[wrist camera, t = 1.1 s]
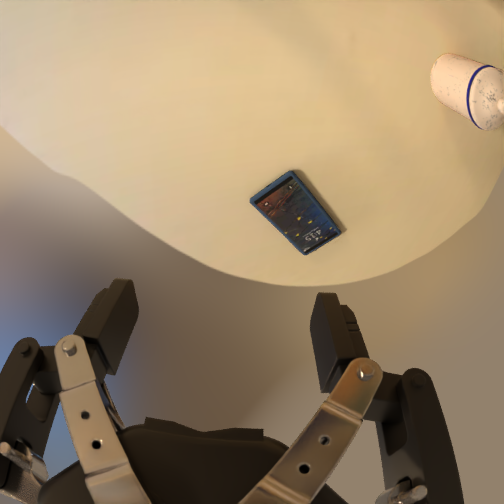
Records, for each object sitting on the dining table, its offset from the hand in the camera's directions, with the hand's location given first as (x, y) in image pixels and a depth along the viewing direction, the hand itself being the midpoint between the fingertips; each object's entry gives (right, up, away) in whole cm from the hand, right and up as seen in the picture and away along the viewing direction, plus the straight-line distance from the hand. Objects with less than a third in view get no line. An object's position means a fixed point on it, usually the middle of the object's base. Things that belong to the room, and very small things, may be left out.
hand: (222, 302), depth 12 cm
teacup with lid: (+31, +28, +15) cm, 44 cm away
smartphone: (+8, +8, +31) cm, 33 cm away
